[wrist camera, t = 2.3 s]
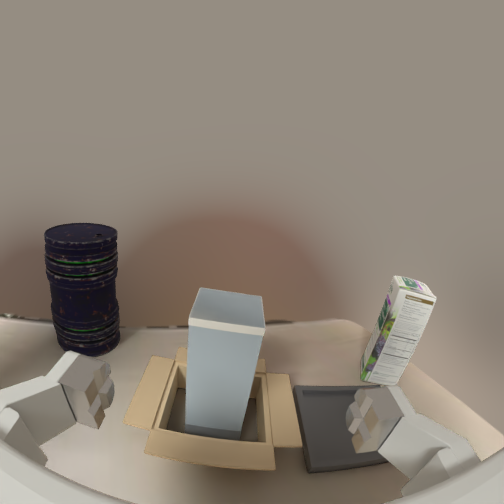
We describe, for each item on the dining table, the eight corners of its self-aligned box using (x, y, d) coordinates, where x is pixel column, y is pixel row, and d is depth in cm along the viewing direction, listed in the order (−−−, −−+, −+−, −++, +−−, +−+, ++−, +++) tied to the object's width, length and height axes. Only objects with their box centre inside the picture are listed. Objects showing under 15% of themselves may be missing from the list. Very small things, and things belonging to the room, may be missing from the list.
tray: (307, 473, 19) (311, 467, 18) (292, 392, 30) (294, 385, 30) (409, 456, 19) (415, 450, 19) (376, 391, 31) (379, 384, 31)
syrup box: (360, 359, 38) (391, 273, 35) (393, 366, 37) (427, 282, 33) (360, 381, 33) (398, 286, 29) (396, 388, 31) (438, 296, 28)
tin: (184, 437, 21) (188, 317, 18) (192, 402, 26) (200, 287, 22) (238, 444, 22) (265, 328, 18) (238, 408, 26) (261, 296, 23)
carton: (122, 463, 16) (113, 442, 15) (158, 366, 31) (158, 342, 30) (293, 486, 17) (306, 468, 16) (279, 383, 32) (285, 360, 31)
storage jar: (44, 343, 27) (28, 235, 23) (78, 312, 37) (73, 220, 33) (102, 366, 28) (91, 248, 24) (131, 327, 37) (131, 228, 33)
